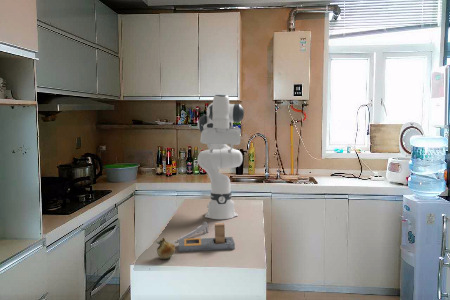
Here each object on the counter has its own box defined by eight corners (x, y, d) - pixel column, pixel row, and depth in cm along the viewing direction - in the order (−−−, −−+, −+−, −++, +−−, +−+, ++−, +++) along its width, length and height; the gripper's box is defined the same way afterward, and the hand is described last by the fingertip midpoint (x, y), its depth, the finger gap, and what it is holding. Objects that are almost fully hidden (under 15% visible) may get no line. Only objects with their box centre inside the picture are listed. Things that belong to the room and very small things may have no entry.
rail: (179, 245, 170) (179, 238, 170) (232, 242, 172) (232, 236, 172) (178, 251, 161) (178, 245, 161) (234, 249, 163) (234, 242, 163)
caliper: (207, 232, 189) (206, 220, 188) (208, 233, 188) (208, 220, 187) (175, 242, 174) (174, 229, 173) (176, 243, 173) (176, 230, 173)
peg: (215, 245, 169) (214, 223, 168) (224, 244, 169) (223, 222, 168) (215, 248, 165) (215, 225, 164) (224, 247, 165) (224, 225, 164)
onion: (156, 262, 149) (155, 242, 149) (156, 255, 157) (156, 236, 157) (175, 261, 151) (175, 241, 150) (175, 254, 159) (174, 235, 158)
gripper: (239, 127, 196) (239, 154, 196) (200, 125, 193) (199, 152, 192) (242, 126, 190) (241, 153, 189) (201, 124, 187) (201, 152, 186)
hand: (220, 153), depth 191 cm, fingers open, 8 cm apart
